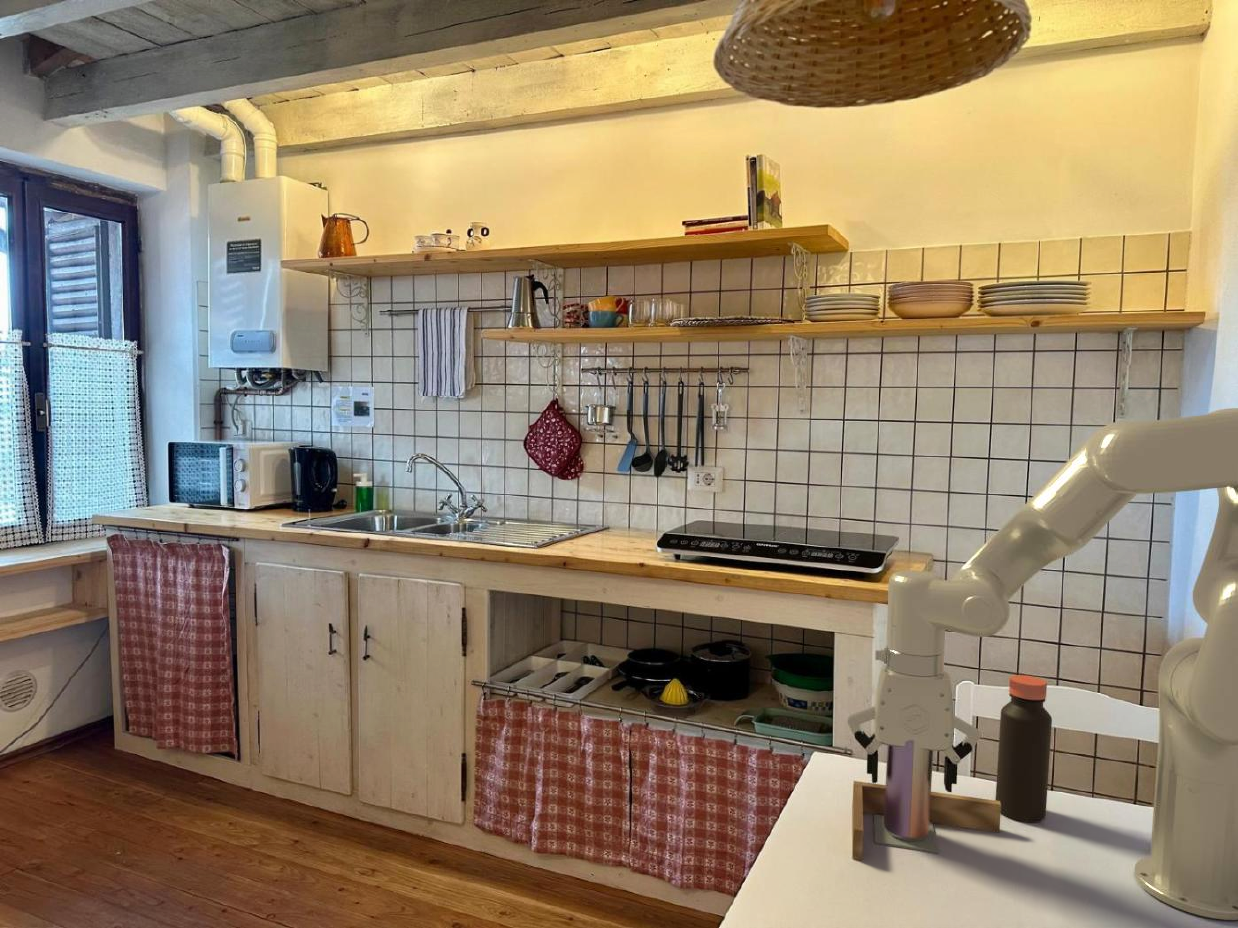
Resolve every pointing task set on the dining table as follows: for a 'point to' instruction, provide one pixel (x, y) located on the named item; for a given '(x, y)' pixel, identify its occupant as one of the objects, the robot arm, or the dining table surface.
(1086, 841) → the dining table surface
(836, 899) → the dining table surface
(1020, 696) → the bottle
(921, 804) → the beverage can
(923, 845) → the pad
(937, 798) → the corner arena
